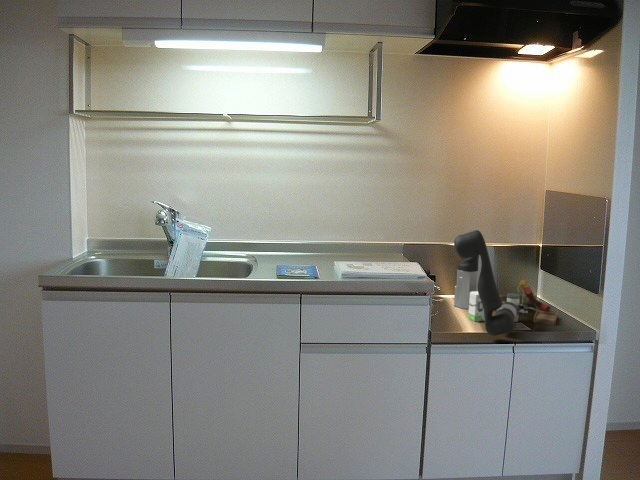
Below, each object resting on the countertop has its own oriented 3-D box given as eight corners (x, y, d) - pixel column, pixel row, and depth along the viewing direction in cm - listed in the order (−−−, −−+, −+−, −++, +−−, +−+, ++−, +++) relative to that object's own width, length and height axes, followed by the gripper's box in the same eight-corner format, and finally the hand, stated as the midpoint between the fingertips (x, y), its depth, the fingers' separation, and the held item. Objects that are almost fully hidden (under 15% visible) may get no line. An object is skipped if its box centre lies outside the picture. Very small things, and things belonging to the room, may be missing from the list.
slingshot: (546, 304, 253) (558, 303, 238) (531, 320, 252) (542, 320, 237) (519, 279, 255) (529, 276, 241) (504, 295, 255) (513, 293, 240)
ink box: (474, 321, 224) (476, 294, 223) (467, 318, 229) (469, 291, 227) (492, 320, 227) (493, 293, 225) (485, 316, 232) (486, 290, 230)
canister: (504, 320, 227) (506, 295, 225) (506, 317, 231) (508, 292, 229) (517, 322, 224) (519, 297, 223) (519, 319, 229) (520, 294, 227)
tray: (532, 322, 225) (533, 317, 225) (536, 314, 236) (536, 310, 236) (554, 325, 221) (555, 320, 221) (557, 317, 232) (557, 313, 232)
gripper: (526, 307, 210) (532, 297, 225) (489, 301, 217) (496, 292, 232) (525, 325, 211) (531, 314, 226) (487, 319, 218) (495, 309, 233)
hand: (513, 303), depth 229 cm, fingers open, 6 cm apart
